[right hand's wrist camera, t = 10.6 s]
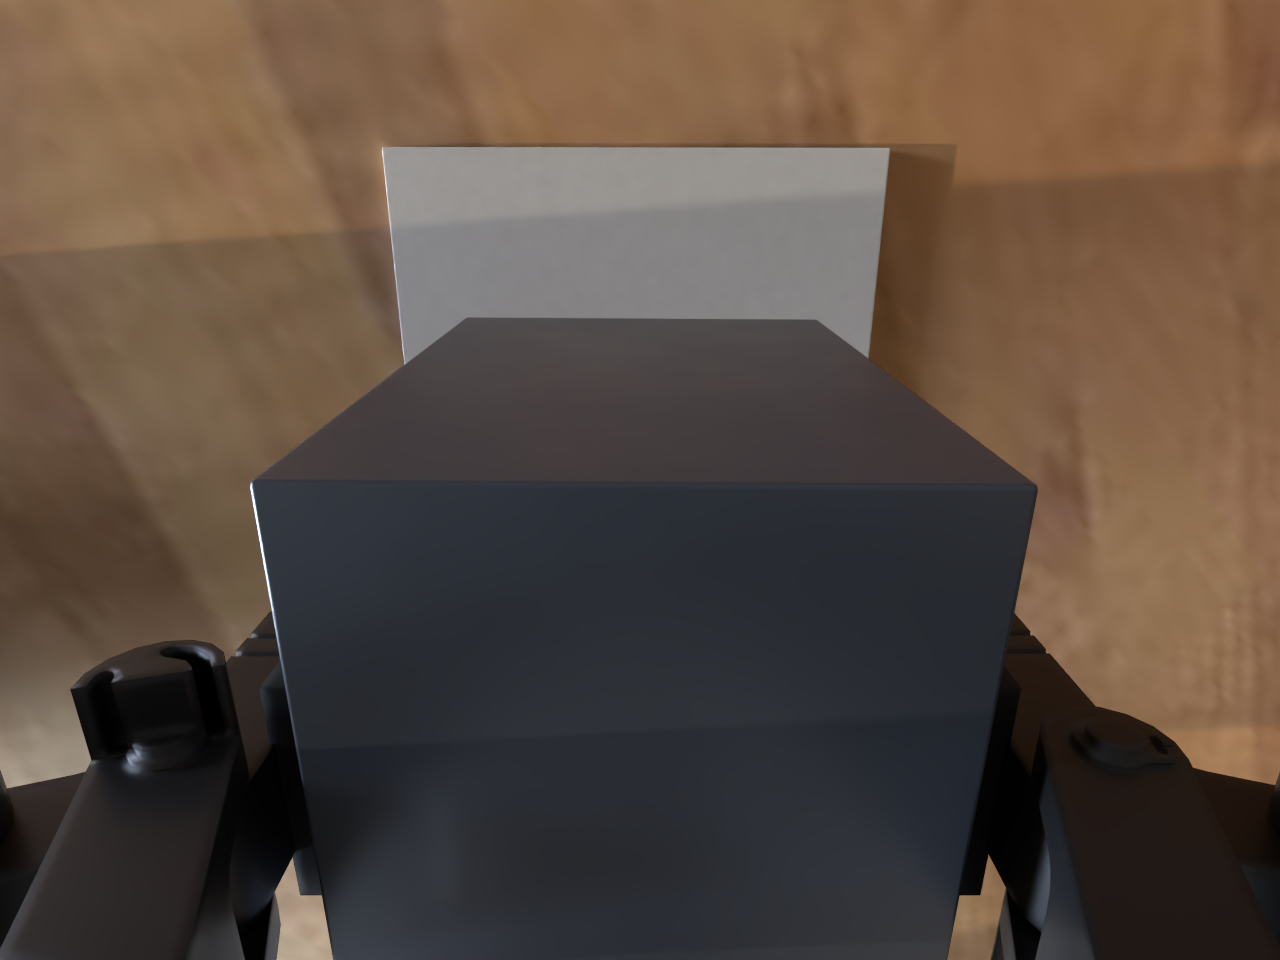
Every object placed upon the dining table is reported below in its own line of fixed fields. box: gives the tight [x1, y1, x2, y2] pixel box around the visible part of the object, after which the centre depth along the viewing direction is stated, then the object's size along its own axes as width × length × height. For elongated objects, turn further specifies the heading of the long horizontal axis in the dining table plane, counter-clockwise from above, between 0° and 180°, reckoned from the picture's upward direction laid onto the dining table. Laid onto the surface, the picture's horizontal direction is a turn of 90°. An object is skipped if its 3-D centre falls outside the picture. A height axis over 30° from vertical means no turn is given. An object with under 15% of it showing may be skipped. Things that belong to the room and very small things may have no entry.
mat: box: [382, 147, 890, 365], centre depth 28 cm, size 14×36×1 cm, turn 0°
